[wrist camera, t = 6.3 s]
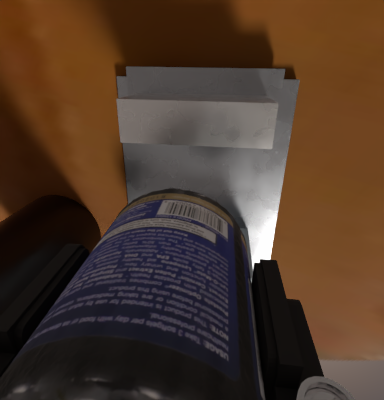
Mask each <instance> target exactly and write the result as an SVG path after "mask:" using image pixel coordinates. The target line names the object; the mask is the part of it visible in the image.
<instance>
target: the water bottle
mask: <svg viewBox="0 0 384 400" xmlns="http://www.w3.org/2000/svg"><path fill="white" fill-rule="evenodd" d="M100 240H101V235H100V230H99V227H98V224H97V222H96V220H95V219H94V217H93V216H92V215H91V213H90V212H89V211H88V210H87V209H86V208H84V207H83V206H82V205H81V204H79V203H77V202H76V201H74V200H72V199H69V198H66V197H63V196H57V195H49V196H44V197H41V198H39V199H37V200H35V201H34V202H32V203H30V204H29V205H27V206H25V207H24V208H22V209H21V210H19V211H17V212H16V213H14V214H13V215H11V216H9V217H8V218H6V219H5V220H3V221H1V222H0V316H1V314H2V313H3V312H4V311H5V310H6V309H7V308H8V307H9V306H10V305H11V304H12V303H13V301H14V300H15V299H16V298H17V297H18V296H19V295H20V294H21V293H22V292H23V291H24V290H25V288H26V287H27V286H28V285H29V284H30V283H31V282H32V281H33V280H34V279H35V278H36V277H37V275H38V274H39V273H40V272H41V271H42V270H43V269H44V268H45V267H46V266H47V265H48V264H49V262H50V261H51V260H52V259H53V258H54V257H55V256H56V255H57V254H58V253H59V252H60V251H61V249H62V248H63V247H64V246H65V245H66V244H69V243H70V244H82V245H84V247H85V249H88V250H89V255H90V253H91V252H92V251H93V249H94V248H95V247H96V245H97V244H98V242H99V241H100Z"/></svg>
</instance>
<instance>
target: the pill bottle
mask: <svg viewBox="0 0 384 400" xmlns="http://www.w3.org/2000/svg"><path fill="white" fill-rule="evenodd" d="M0 400H265V393H264V383H263V376H262V368H261V359H260V351H259V343H258V335H257V327H256V318H255V310H254V301H253V293H252V285H251V277H250V269H249V261H248V253H247V245H246V241H245V237H244V234H243V233H242V231H241V229H240V226H239V225H238V224H237V222H236V221H235V219H234V217H233V216H232V215H231V214H230V213H229V211H228V210H227V209H225V208H224V207H223V206H221V205H220V204H219V203H218V202H216V201H214V200H212V199H210V198H208V197H206V196H204V195H202V194H200V193H196V192H193V191H190V190H181V189H176V188H170V189H164V190H158V191H153V192H150V193H147V194H144V195H142V196H140V197H138V198H136V199H134V200H133V201H131V202H130V203H129V204H128V205H127V206H126V207H125V208H124V209H123V210H122V211H121V212H120V213H119V215H118V216H117V218H116V219H115V221H114V222H113V223H112V225H111V226H110V227H109V229H108V230H107V232H106V233H105V234H104V236H103V237H102V238H101V240H100V241H99V242H98V244H97V245H96V247H95V248H94V249H93V251H92V252H91V253H90V255H89V256H88V258H87V259H86V260H85V262H84V263H83V265H82V266H81V267H80V269H79V270H78V271H77V273H76V274H75V276H74V277H73V278H72V280H71V281H70V283H69V284H68V285H67V287H66V288H65V289H64V291H63V292H62V294H61V295H60V296H59V298H58V299H57V301H56V302H55V303H54V305H53V306H52V307H51V309H50V310H49V312H48V313H47V314H46V316H45V317H44V319H43V320H42V321H41V323H40V324H39V326H38V327H37V328H36V330H35V331H34V332H33V334H32V335H31V336H30V338H29V339H28V341H27V342H26V343H25V345H24V346H23V348H22V349H21V350H20V352H19V353H18V354H17V356H16V357H15V358H14V360H13V361H12V363H11V364H10V365H9V367H8V368H7V369H6V371H5V372H4V373H3V375H2V376H1V377H0Z"/></svg>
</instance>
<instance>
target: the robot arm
mask: <svg viewBox="0 0 384 400" xmlns="http://www.w3.org/2000/svg"><path fill="white" fill-rule="evenodd" d="M88 256H89V250H88V249H85V247H84V245H82V244H70V243H69V244H66V245H65V246H64V247H63V248H62V249H61V251H60V252H59V253H58V254H57V255H56V256H55V257H54V258H53V259H52V260H51V261H50V262H49V264H48V265H47V266H46V267H45V268H44V269H43V270H42V271H41V272H40V273H39V274H38V275H37V277H36V278H35V279H34V280H33V281H32V282H31V283H30V284H29V285H28V286H27V287H26V288H25V290H24V291H23V292H22V293H21V294H20V295H19V296H18V297H17V298H16V299H15V300H14V301H13V303H12V304H11V305H10V306H9V307H8V308H7V309H6V310H5V311H4V312H3V313H2V314H1V316H0V377H1V376H2V375H3V373H4V372H5V371H6V369H7V368H8V367H9V365H10V364H11V363H12V361H13V360H14V358H15V357H16V356H17V354H18V353H19V352H20V350H21V349H22V348H23V346H24V345H25V343H26V342H27V341H28V339H29V338H30V336H31V335H32V334H33V332H34V331H35V330H36V328H37V327H38V326H39V324H40V323H41V321H42V320H43V319H44V317H45V316H46V314H47V313H48V312H49V310H50V309H51V307H52V306H53V305H54V303H55V302H56V301H57V299H58V298H59V296H60V295H61V294H62V292H63V291H64V289H65V288H66V287H67V285H68V284H69V283H70V281H71V280H72V278H73V277H74V276H75V274H76V273H77V271H78V270H79V269H80V267H81V266H82V265H83V263H84V262H85V260H86V259H87V258H88ZM251 285H252V293H253V301H254V310H255V318H256V327H257V335H258V343H259V351H260V359H261V368H262V376H263V383H264V393H265V400H355V399H354V397H353V396H352V395H351V394H350V392H348V391H347V390H346V389H345V388H344V387H343V386H342V385H340V384H338V383H337V382H335V381H333V380H331V379H328V378H325V377H324V375H323V372H322V369H321V365H320V362H319V359H318V356H317V353H316V349H315V346H314V343H313V340H312V337H311V334H310V330H309V327H308V324H307V321H306V318H305V314H304V311H303V308H302V305H301V303H300V301H299V300H294V299H286V295H285V291H284V287H283V283H282V279H281V275H280V272H279V268H278V264H277V261H276V260H266V259H260V263H254V268H253V276H252V283H251Z"/></svg>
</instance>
